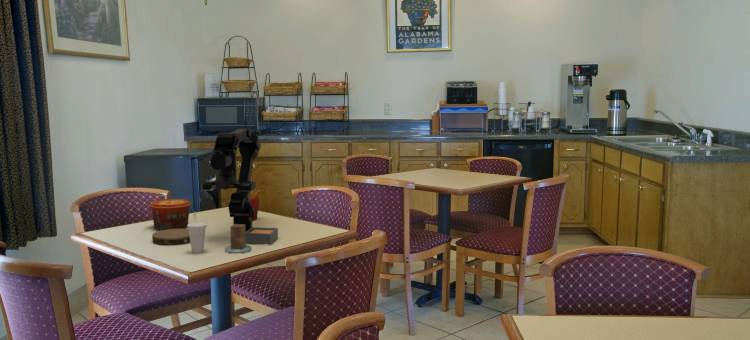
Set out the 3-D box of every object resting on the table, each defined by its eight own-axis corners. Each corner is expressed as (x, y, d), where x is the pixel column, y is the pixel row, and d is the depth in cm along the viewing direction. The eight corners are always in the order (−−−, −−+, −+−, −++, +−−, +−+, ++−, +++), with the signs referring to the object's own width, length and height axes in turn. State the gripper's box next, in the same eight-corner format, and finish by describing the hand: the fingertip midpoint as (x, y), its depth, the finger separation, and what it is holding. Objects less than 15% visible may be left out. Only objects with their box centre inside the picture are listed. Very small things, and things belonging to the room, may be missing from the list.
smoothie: (190, 249, 203) (189, 210, 202) (209, 249, 204) (207, 210, 202) (186, 254, 197) (184, 214, 195) (205, 254, 198) (204, 213, 196)
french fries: (246, 218, 258) (246, 184, 256) (263, 219, 255) (262, 185, 254) (235, 221, 250) (234, 187, 248) (252, 223, 247) (251, 188, 245)
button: (248, 238, 213) (247, 234, 213) (254, 233, 220) (254, 229, 220) (268, 238, 212) (268, 234, 212) (274, 233, 220) (273, 230, 219)
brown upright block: (230, 249, 201) (230, 226, 200) (234, 246, 205) (234, 224, 204) (242, 249, 201) (241, 226, 200) (245, 246, 205) (245, 224, 204)
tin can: (197, 235, 227) (196, 227, 226) (198, 244, 212) (198, 236, 212) (153, 237, 222) (153, 230, 221) (151, 247, 207) (151, 239, 206)
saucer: (221, 253, 199) (220, 250, 199) (230, 246, 208) (230, 244, 208) (246, 254, 198) (246, 251, 198) (254, 247, 207) (254, 245, 207)
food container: (194, 230, 234) (194, 203, 233) (152, 233, 227) (151, 206, 226) (188, 222, 248) (187, 197, 247) (148, 225, 241) (147, 200, 240)
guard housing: (243, 243, 212) (243, 233, 212) (252, 237, 222) (252, 227, 221) (270, 244, 211) (270, 234, 210) (278, 238, 221) (277, 228, 220)
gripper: (195, 168, 207) (196, 211, 209) (245, 169, 205) (246, 213, 207) (207, 165, 218) (208, 206, 220) (255, 166, 216) (256, 207, 218)
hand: (229, 208), depth 216 cm, fingers open, 9 cm apart
